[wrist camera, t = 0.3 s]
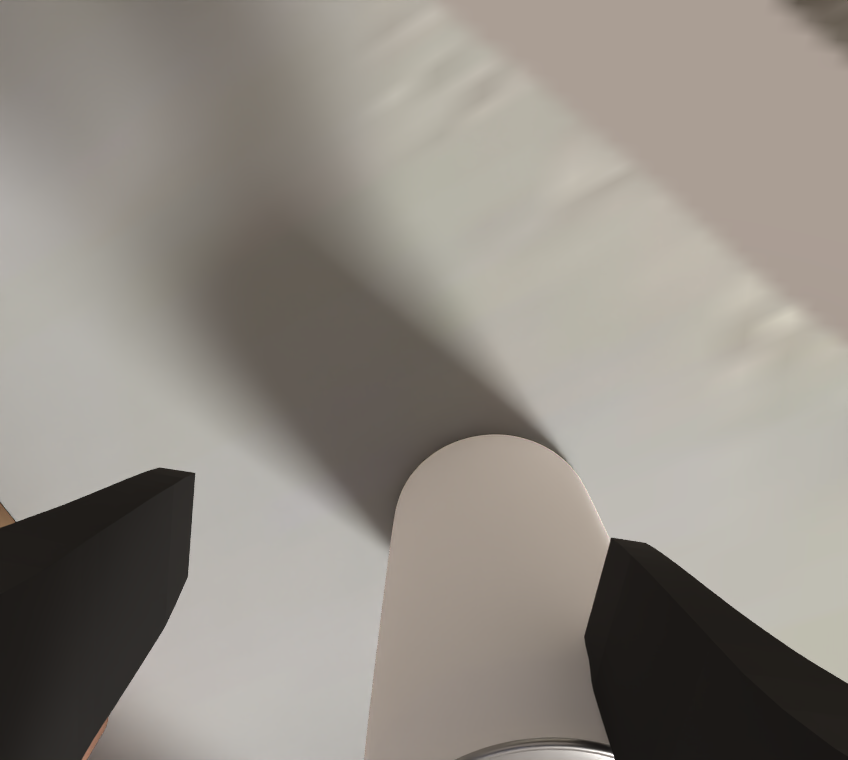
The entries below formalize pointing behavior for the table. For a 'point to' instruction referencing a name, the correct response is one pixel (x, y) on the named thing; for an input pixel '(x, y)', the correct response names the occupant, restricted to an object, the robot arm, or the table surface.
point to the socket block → (5, 517)
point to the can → (489, 610)
